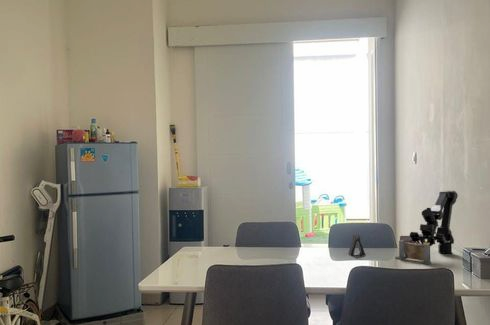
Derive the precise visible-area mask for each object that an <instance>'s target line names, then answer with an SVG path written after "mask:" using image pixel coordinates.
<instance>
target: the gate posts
mask: <svg viewBox="0 0 490 325" xmlns="http://www.w3.org/2000/svg"><path fill="white" fill-rule="evenodd" d="M423 244H424V261H423V260H421V261H420V262H421V263H420V264H422V265H431V264H432V262H431V261H429V244H430V243H428V242H427V241H426V242H424V243H423ZM398 252H399V253H398V254H399V255H396V256H394V259H397V260H405V259H407V258H405V247H404V241H403V240H400V239H399V241H398Z"/></svg>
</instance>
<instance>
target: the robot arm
mask: <svg viewBox="0 0 490 325" xmlns="http://www.w3.org/2000/svg"><path fill="white" fill-rule="evenodd" d="M458 196H459V195H458V192H456V190H440V191H439V194H438V197H437V199H436V202H434V203H435V204H434V205H433V206H432V207H426V208H425V209H424V210H422V211H421V216H422V218H423V220H424V222H426V224H420V225H419V230H420V232H421V233H419V232H418V231H417V232H416V231H411V232H410V233H409V236H410V237H411V239H412V242H413V241H416V242H418V241H419V242H420V244H423V243H424V242H428V243H430V244H429V245H430V247H432V246H433V245H436V243H437V244H438V248H437V249H438V251H437V252H438V253H440V254H443V255H447V254H448V255H452V254H454V253H453V252H452V245H453V244H454V243H455V239H454V236H453V234H452V233H453V232H452V230H451V228H450V227H451V226H450V225H451V218H452V211H453V205H454V204H456V202H457V199H458ZM439 221H441V223H440V226H439Z"/></svg>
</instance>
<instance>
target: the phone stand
mask: <svg viewBox="0 0 490 325" xmlns="http://www.w3.org/2000/svg"><path fill="white" fill-rule="evenodd" d="M351 241H352V242H351V244H350V247H349V250H348V252H347V253H348V255H349V256H351V257H352V256H354V257H355V256H361V255H365V256H366V253H365V250H364V247H363V245H362V244H363V243H362V242H361V236H360V235H359V234H357V233H356V234H353V235H352V240H351ZM356 246H357V247H358V250H359V252H356V251H355V249H356Z"/></svg>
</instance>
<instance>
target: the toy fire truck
mask: <svg viewBox="0 0 490 325" xmlns="http://www.w3.org/2000/svg"><path fill="white" fill-rule="evenodd" d="M400 240H403V241H404V247H405V242H408V243H416V244H421V242H420V241H418V242H417V241H412V239H411V237H410V235H400V236H399V241H400Z"/></svg>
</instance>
